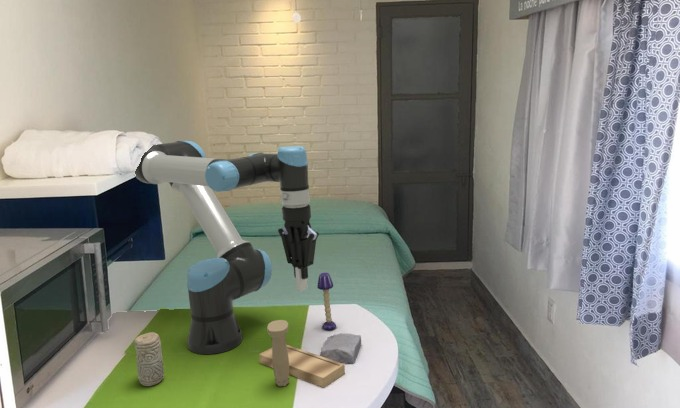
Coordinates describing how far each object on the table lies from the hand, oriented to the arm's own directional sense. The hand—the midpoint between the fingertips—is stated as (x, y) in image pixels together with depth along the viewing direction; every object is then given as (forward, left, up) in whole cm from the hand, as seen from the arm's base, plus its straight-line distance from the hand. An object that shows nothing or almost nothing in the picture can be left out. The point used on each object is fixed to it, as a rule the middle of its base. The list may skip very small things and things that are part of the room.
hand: (302, 289), depth 153 cm
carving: (-18, -37, -16) cm, 44 cm away
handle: (+10, -20, -16) cm, 27 cm away
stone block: (+12, 0, -16) cm, 20 cm away
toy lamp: (-1, +11, -16) cm, 19 cm away
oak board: (+9, -12, -16) cm, 21 cm away
